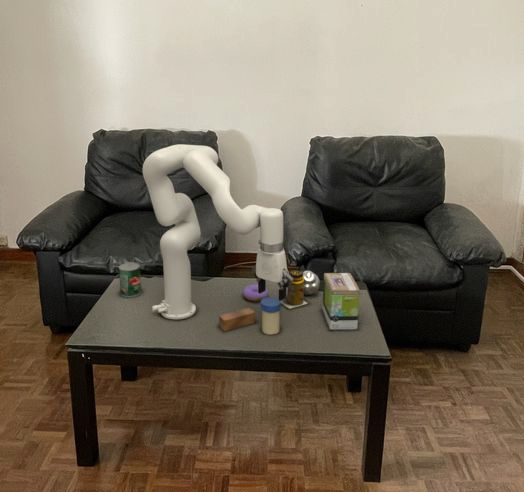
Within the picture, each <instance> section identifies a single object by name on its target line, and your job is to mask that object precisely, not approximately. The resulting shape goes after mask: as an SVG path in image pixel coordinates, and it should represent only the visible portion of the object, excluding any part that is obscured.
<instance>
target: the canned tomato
mask: <svg viewBox="0 0 524 492" xmlns="http://www.w3.org/2000/svg"><path fill="white" fill-rule="evenodd" d="M118 275H119V291H120V292H119V293H120V296H122V297H125V298H132V297H136V296H137V297H138V296H139V295H140V294H142V283H141V282H142V281H141V265H140V263H138V262H134V261H133V262H132V261H130V262H129V261H128V262H124V263H122V264H120V265H119V266H118Z"/></svg>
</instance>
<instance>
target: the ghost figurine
mask: <svg viewBox="0 0 524 492" xmlns="http://www.w3.org/2000/svg"><path fill="white" fill-rule="evenodd" d="M302 272H303V279H304V295H306V296H313V295H314V294H316V293H317V292H318V291H319V289H320V287H321V281H320V278H319V276H318V275H317V274H315V272H313V271H311V270H304V271H302Z"/></svg>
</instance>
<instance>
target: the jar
mask: <svg viewBox="0 0 524 492" xmlns="http://www.w3.org/2000/svg"><path fill="white" fill-rule="evenodd" d="M280 312H281V309H280V310H279V311H277V312H272V313H270V312H265V311H263V310H262V309H261V331H262V333H263V334H266V335H275V334H278V333H279V332H280V328H281V327H280V325H281V321H280V320H281V319H280V318H281V313H280Z"/></svg>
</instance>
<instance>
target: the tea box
mask: <svg viewBox="0 0 524 492" xmlns="http://www.w3.org/2000/svg"><path fill="white" fill-rule="evenodd" d="M360 291H361V290H360V287H359V285H358V284H357V282H356V281H355V279H354V277H353V275H352V274H351V272H324V273H323V289H322V312H323V315H324V317H325V320H326V323H327V325H328V328H329V330H333V331H334V330H335V331H337V330H357V329H358V327H359V326H358V325H359V323H358V322H359V311H360V309H359V308H360V297H361V295H360V293H361V292H360Z"/></svg>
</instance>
